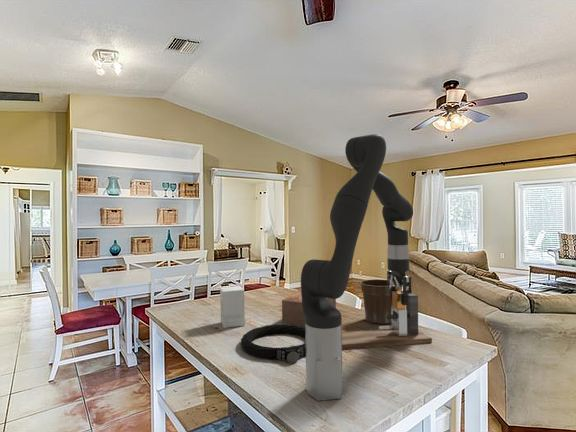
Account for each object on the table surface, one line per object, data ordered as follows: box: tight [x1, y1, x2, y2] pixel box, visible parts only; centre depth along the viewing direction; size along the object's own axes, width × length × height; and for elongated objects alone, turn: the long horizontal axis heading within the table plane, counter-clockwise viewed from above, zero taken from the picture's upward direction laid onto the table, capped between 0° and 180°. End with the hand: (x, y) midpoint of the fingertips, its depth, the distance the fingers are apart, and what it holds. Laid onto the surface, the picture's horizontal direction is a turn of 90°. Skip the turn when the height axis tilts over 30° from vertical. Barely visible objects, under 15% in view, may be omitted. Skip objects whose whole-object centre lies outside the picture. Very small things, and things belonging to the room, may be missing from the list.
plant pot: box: [359, 279, 399, 325], centre depth 147 cm, size 16×16×16 cm
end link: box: [377, 290, 407, 336], centre depth 124 cm, size 6×9×15 cm, turn 98°
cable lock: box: [240, 324, 306, 364], centre depth 120 cm, size 28×4×30 cm
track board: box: [342, 293, 433, 350], centre depth 124 cm, size 12×34×16 cm, turn 98°
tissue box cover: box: [281, 291, 337, 327], centre depth 153 cm, size 26×14×10 cm, turn 152°
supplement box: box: [219, 285, 246, 329], centre depth 145 cm, size 9×9×15 cm
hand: (398, 302), depth 125 cm, fingers open, 8 cm apart
